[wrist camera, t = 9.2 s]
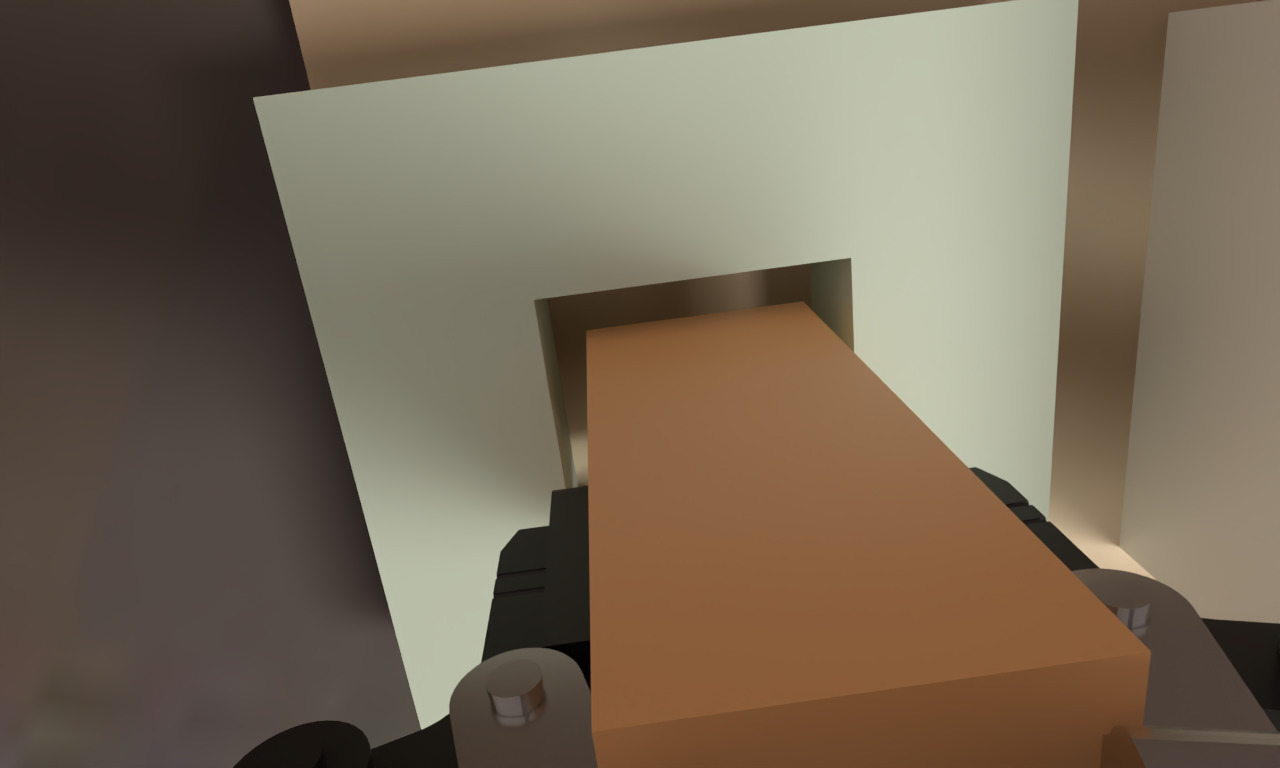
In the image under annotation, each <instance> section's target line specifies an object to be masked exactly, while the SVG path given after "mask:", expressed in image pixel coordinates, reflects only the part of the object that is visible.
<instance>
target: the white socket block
mask: <svg viewBox="0 0 1280 768" xmlns="http://www.w3.org/2000/svg"><path fill="white" fill-rule="evenodd" d="M1119 547H1120V548H1121V549H1122V550H1123V551H1124V552H1125V553H1127V554H1128V555H1129V556H1130V557H1131V558H1132V559H1133V560H1135V561H1136V562H1137V563H1138V564H1139V565H1140V566H1141V567H1143V568H1144V569H1145V570H1146V571H1147V572H1148V573H1149V574H1151V575H1152V576H1153V577H1154V578H1155V579H1156V580H1157V581H1159V582H1161V583H1163V584H1165V585H1167V586H1169V587H1171V588H1172V589H1174V590H1175V591H1177V592H1178V593H1180V594H1181V595H1182V596H1183V597H1184V598H1186V599H1187V600H1188V601H1189V603H1190V604H1191V605H1192V606H1193V607H1194V609H1195V610H1196V612H1197V613H1198V615H1199V616H1200V618H1208V619H1218V620H1233V621H1248V622H1264V623H1279V624H1280V0H1264V1H1256V2H1249V3H1241V4H1233V5H1225V6H1217V7H1210V8H1202V9H1194V10H1186V11H1178V12H1171V13H1169V15H1168V26H1167V36H1166V47H1165V58H1164V69H1163V79H1162V90H1161V101H1160V112H1159V123H1158V133H1157V144H1156V155H1155V166H1154V176H1153V187H1152V198H1151V209H1150V219H1149V230H1148V241H1147V252H1146V262H1145V273H1144V284H1143V295H1142V305H1141V316H1140V327H1139V338H1138V348H1137V359H1136V370H1135V381H1134V392H1133V402H1132V413H1131V424H1130V435H1129V445H1128V456H1127V467H1126V478H1125V488H1124V499H1123V510H1122V521H1121V531H1120V542H1119Z"/></svg>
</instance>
